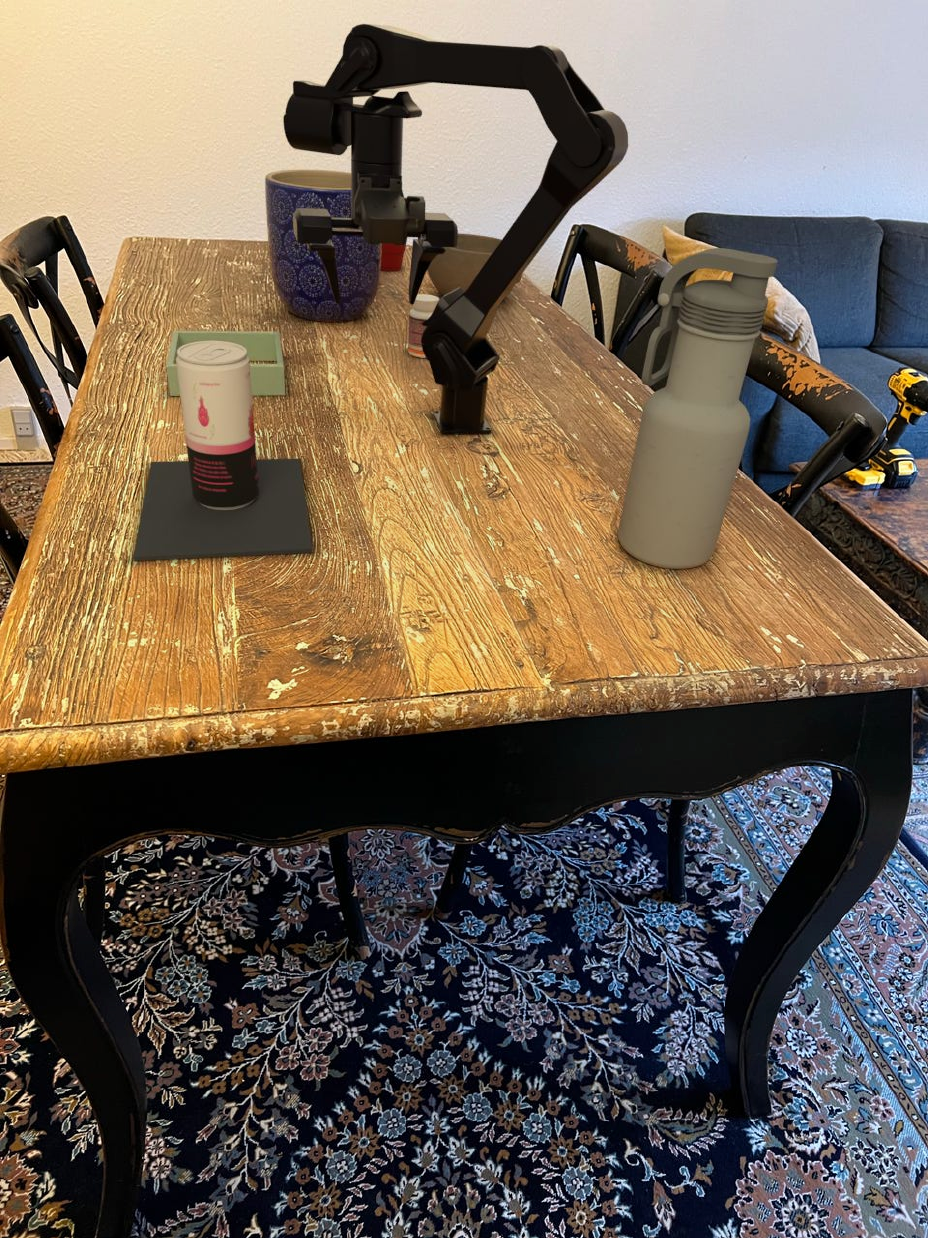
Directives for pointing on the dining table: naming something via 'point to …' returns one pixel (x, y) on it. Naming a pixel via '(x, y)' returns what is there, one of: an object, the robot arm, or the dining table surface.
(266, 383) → the basin
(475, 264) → the bowl
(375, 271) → the planter
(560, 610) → the dining table surface
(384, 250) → the plastic cup
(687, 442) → the water bottle
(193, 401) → the beverage can
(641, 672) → the dining table surface
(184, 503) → the mat
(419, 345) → the pill bottle
